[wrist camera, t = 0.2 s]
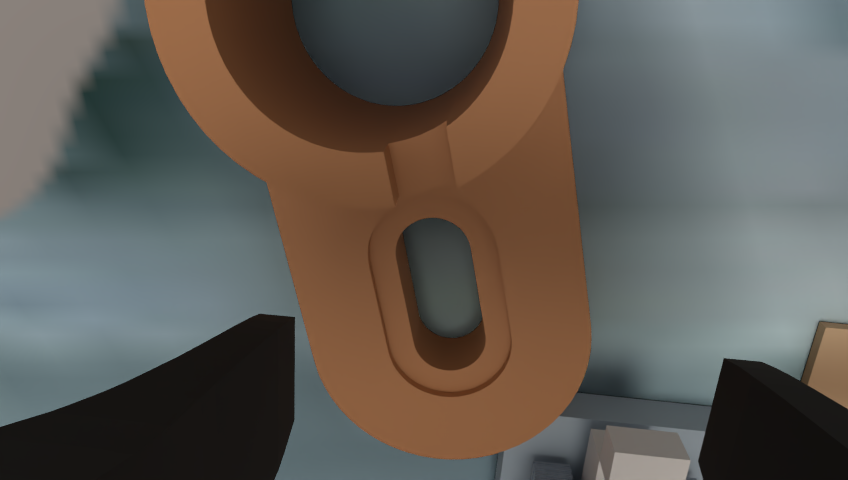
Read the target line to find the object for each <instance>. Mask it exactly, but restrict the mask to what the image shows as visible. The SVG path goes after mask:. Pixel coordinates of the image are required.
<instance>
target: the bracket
mask: <svg viewBox="0 0 848 480" xmlns="http://www.w3.org/2000/svg"><path fill="white" fill-rule="evenodd" d="M578 1H579V0H499V8H498V15H497V21H496V25H495V29H494V32H493V35H492V38H491V40H490V43H489V45H488V47H487V49H486V51H485V53H484V55H483V56H482V58H481V59H480V61H479V62H478V64H477V65H476V66H475V68H474V69H473V70H472V71H471V73H470V74H469V75H468V76H467V77H466V78H465V79H464V80H462V81H461V82H460V83H459V84H458V85H456V86H455V87H454V88H452V89H451V90H449V91H448V92H446V93H444V94H442V95H440V96H438V97H436V98H434V99H431V100H428V101H426V102H422V103H418V104H414V105H406V106H388V105H380V104H375V103H371V102H368V101H365V100H362V99H359V98H357V97H355V96H353V95H351V94H349V93H347V92H345V91H344V90H342V89H341V88H339V87H338V86H337V85H335V84H334V83H332V82H331V81H330V80H329V79H328V78H327V77H326V76H325V75H324V74H323V73H322V72H321V71H320V70H319V68H318V67H317V66H316V65H315V63H314V62H313V61H312V59H311V58H310V56H309V55H308V53H307V51H306V49H305V48H304V46H303V43H302V41H301V39H300V37H299V34H298V31H297V28H296V25H295V20H294V16H293V10H292V0H145V7H146V12H147V17H148V22H149V27H150V31H151V34H152V37H153V40H154V44H155V47H156V50H157V53H158V55H159V58H160V60H161V63H162V65H163V68H164V70H165V72H166V75H167V77H168V78H169V80H170V82H171V84H172V86H173V88H174V90H175V92H176V94H177V95H178V97H179V98H180V100H181V102H182V103H183V105H184V106H185V108H186V109H187V111H188V112H189V114H190V115H191V116H192V118H193V119H194V120H195V121H196V123H197V124H198V125H199V126H200V128H201V129H202V130H203V131H204V133H205V134H206V135H207V136H208V137H209V138H210V139H211V140H212V141H213V142H214V143H215V144H216V145H217V146H218V147H219V148H220V149H221V150H222V151H223V152H224V153H226V154H227V155H228V156H229V157H230V158H232V159H233V160H234V161H235V162H236V163H237V164H239V165H240V166H242V167H243V168H245V169H246V170H247V171H249V172H250V173H252V174H253V175H255V176H256V177H258V178H260V179H262V180H263V181H265V182H267V186H268V190H269V193H270V197H271V201H272V204H273V208H274V212H275V216H276V219H277V223H278V227H279V231H280V234H281V238H282V242H283V246H284V249H285V253H286V257H287V261H288V264H289V268H290V272H291V275H292V279H293V283H294V287H295V290H296V294H297V298H298V302H299V305H300V309H301V313H302V317H303V320H304V324H305V328H306V331H307V335H308V339H309V343H310V346H311V350H312V354H313V358H314V361H315V364H316V367H317V370H318V373H319V376H320V378H321V380H322V382H323V384H324V386H325V388H326V390H327V391H328V393H329V395H330V396H331V398H332V399H333V400H334V402H335V403H336V404H337V406H338V407H339V408H340V409H341V410H342V411H343V413H344V414H345V415H346V416H347V417H348V418H349V419H350V420H351V421H353V422H354V423H355V424H356V425H357V426H358V427H360V428H361V429H362V430H364V431H365V432H367V433H368V434H369V435H371V436H373V437H374V438H376V439H378V440H379V441H381V442H383V443H385V444H387V445H390V446H392V447H394V448H397V449H399V450H402V451H405V452H408V453H412V454H416V455H419V456H424V457H430V458H438V459H470V458H478V457H483V456H488V455H493V454H496V453H499V452H503V451H506V450H508V449H511V448H513V447H516V446H518V445H520V444H522V443H524V442H526V441H528V440H530V439H531V438H533V437H534V436H536V435H537V434H539V433H540V432H542V431H543V430H544V429H545V428H547V427H548V426H549V425H550V424H552V423H553V422H554V421H555V420H556V419H557V418H558V417H559V416H560V415H561V414H562V413H563V411H564V410H565V409H566V407H567V406H568V405H569V404H570V402H571V401H572V399H573V398H574V396H575V394H576V393H577V391H578V389H579V387H580V385H581V383H582V381H583V378H584V375H585V372H586V369H587V366H588V362H589V357H590V351H591V322H590V313H589V304H588V295H587V286H586V276H585V267H584V258H583V249H582V240H581V231H580V222H579V213H578V203H577V194H576V185H575V176H574V167H573V158H572V149H571V140H570V131H569V121H568V112H567V103H566V94H565V85H564V76H563V68H564V65H565V62H566V59H567V56H568V53H569V50H570V47H571V43H572V38H573V34H574V29H575V25H576V19H577V10H578ZM425 218H440V219H444V220H447V221H450V222H452V223H453V224H455V225H456V226H458V227H459V228H460V229H461V230H462V231H463V232H464V234H465V235H466V237H467V239H468V241H469V243H470V247H471V252H472V258H473V264H474V270H475V276H476V282H477V288H478V294H479V300H480V306H481V312H482V321H481V322H480V324H479V326H478V327H477V328H476V329H475V330H474V331H472V332H471V333H469V334H467V335H465V336H462V337H458V338H446V337H441V336H438V335H436V334H434V333H433V332H431V331H430V330H429V329H428V328H426V326H425V325H424V324H423V322H422V321H421V318H420V316H419V312H418V307H417V302H416V297H415V292H414V287H413V282H412V277H411V272H410V267H409V262H408V257H407V253H406V248H405V243H404V238H403V231H404V230H405V229H406V228H407V227H408V226H409V225H410V224H412V223H414V222H416V221H418V220H421V219H425Z"/></svg>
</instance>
